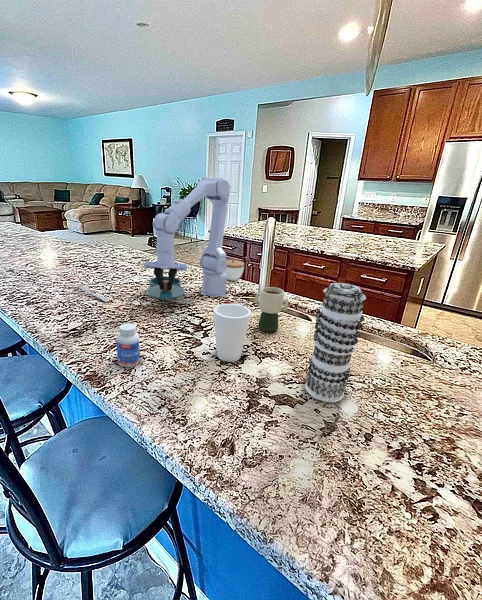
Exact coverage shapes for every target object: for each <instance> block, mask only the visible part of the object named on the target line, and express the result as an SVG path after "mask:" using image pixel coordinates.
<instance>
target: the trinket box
mask: <svg viewBox="0 0 482 600" xmlns="http://www.w3.org/2000/svg"><path fill="white" fill-rule="evenodd" d="M226 262H227V266H226V269H225V271H224V272H223V273H226V281H233V282H234V281H238V280H239V279H240V278H241V277H242V276H243V274H244V270H245V262H244V261H241V260H238V259H237V260H236V259H235V258H232V259H226Z"/></svg>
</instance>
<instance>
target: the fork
mask: <svg viewBox="0 0 482 600" xmlns="http://www.w3.org/2000/svg"><path fill="white" fill-rule="evenodd" d="M78 289H80V290H82V291H85V292H86V293H88V294H90V295H92V296H94V297H96V298H98V299H99V300H101V301H102V302H104V303H108V301H109V300H110V299H109V298H108V297H105V296H103V295H100V294H99V295H98V294H95V293H93V292H91V291H90V288H89V287H88V286H86V285H83V286H80V287H79V286H78V287H76V288H75V290H78Z"/></svg>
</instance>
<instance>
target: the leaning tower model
mask: <svg viewBox="0 0 482 600" xmlns="http://www.w3.org/2000/svg"><path fill="white" fill-rule="evenodd" d="M322 292H323V294H324V296H323V301H322V303H321V307H320V308H318V309H316V313H317V315H315V316H316V318H315V325H314V328H315V330H314V334H313V344H314V349H313V351H312V354H311V357H310V358H309V361H308V363H309V365H308V366H307V369H308V370H307V373H306V378H305V386H304V388H305V390H306V392H307V393H308V394H309V395H310V396H311V397H312V398H315V399H317V400H318V401H322V402H325V403H337V402H341V401H342V399H343V398H345V397H344V396H345V394H344V393H346V390H345V389H346V388H347V386H348V385H347V383H348V379H349V375H350V373H351V371H350V370H351V368H350V366H351V357H352V355H353V353H354V352H356V347H355V345H358V343H359V340H358V338H359V337H361V333H360V332H359V330H361V329H363V324H362V322H364V321H365V320H366V319H365V316H364V315H363V307H364V303H365V300H366V299H367V296H366V295H365V294H364V293H363V291H362V289H361V288H360V287H358V286H357V285H354V284H350V283H347V282H334V283H331V284H330V285H329V286H328V287H326V288H324V289H323V290H322Z"/></svg>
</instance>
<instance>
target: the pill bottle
mask: <svg viewBox="0 0 482 600" xmlns="http://www.w3.org/2000/svg"><path fill="white" fill-rule="evenodd" d="M118 330H119V331H118V334H117V335H116V359H117V364H118V365H119V366H121V367H125V368H129V367H130V368H131V367H134V366H136V365H138V364H139V362H140V335H139V333H138V332H137V325H136V324H134V323H133V322H132V323H131V322H127V323H122V324H120V325H119V327H118Z"/></svg>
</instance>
